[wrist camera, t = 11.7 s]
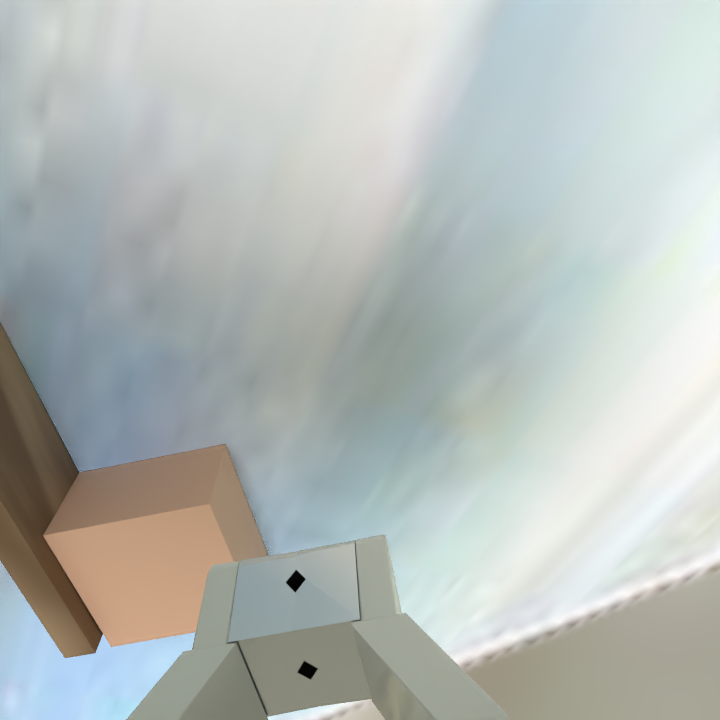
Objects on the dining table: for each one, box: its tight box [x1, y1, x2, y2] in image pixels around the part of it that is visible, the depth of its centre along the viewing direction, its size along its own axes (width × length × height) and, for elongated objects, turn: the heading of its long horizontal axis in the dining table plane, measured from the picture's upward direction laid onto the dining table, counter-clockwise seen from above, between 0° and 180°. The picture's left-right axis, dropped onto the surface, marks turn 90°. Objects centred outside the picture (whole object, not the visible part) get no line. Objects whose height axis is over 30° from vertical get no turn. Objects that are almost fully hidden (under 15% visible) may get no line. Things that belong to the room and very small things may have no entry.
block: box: [43, 444, 268, 647], centre depth 40 cm, size 10×10×6 cm
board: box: [0, 324, 103, 658], centre depth 36 cm, size 2×24×7 cm, turn 11°
